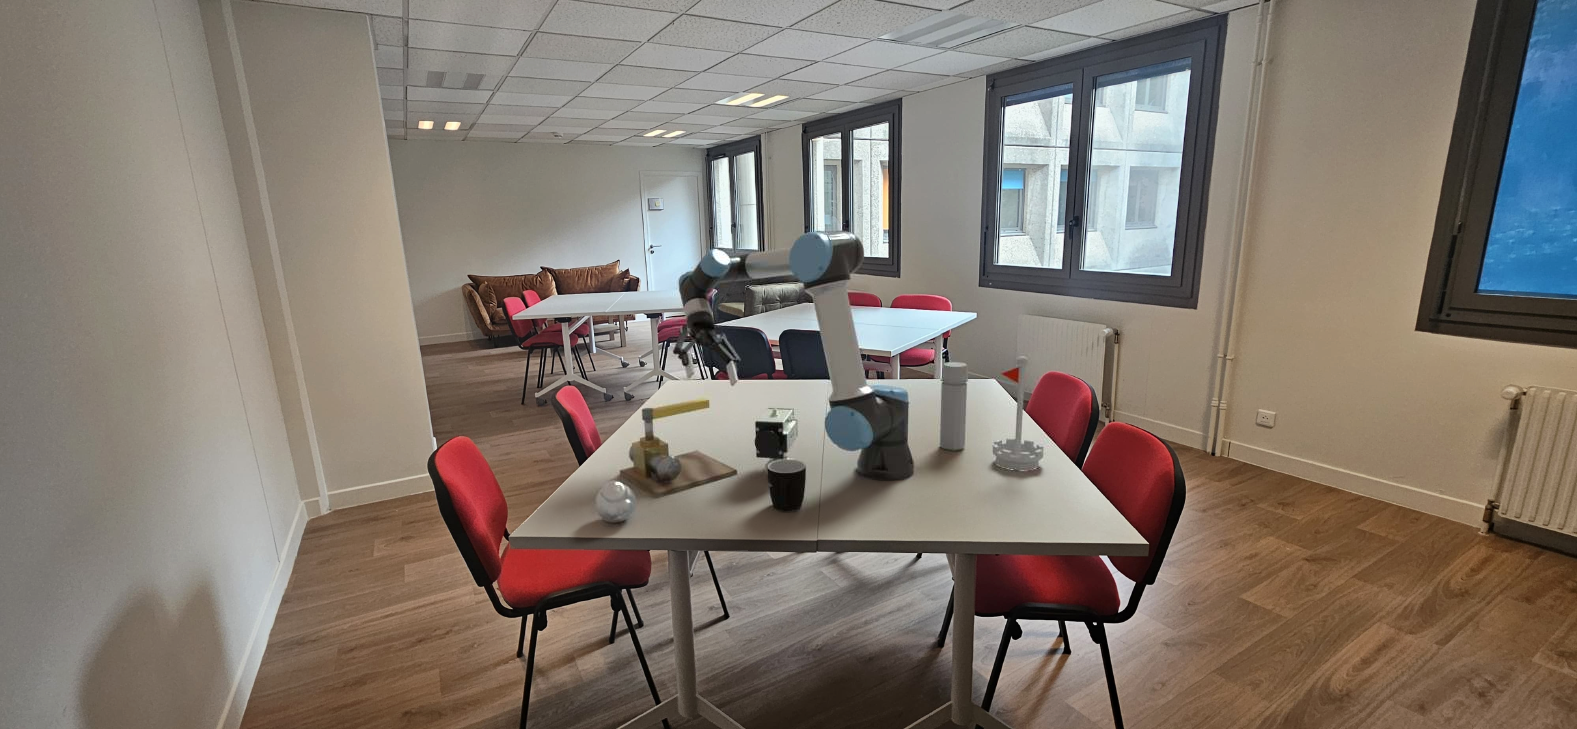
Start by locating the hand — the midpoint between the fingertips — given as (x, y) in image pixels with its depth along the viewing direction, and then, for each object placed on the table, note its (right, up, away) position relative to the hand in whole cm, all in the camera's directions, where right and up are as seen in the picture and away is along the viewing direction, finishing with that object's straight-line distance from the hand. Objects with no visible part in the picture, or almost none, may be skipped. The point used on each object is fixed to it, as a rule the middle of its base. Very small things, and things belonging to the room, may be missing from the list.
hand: (713, 379), depth 176 cm
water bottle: (+68, -20, +19) cm, 74 cm away
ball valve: (+17, -25, +1) cm, 31 cm away
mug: (+20, -30, -21) cm, 42 cm away
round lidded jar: (-19, -32, -26) cm, 45 cm away
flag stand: (+82, -23, +4) cm, 86 cm away
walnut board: (-10, -26, +2) cm, 27 cm away
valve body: (-15, -25, -1) cm, 29 cm away
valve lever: (-10, -9, +3) cm, 14 cm away
